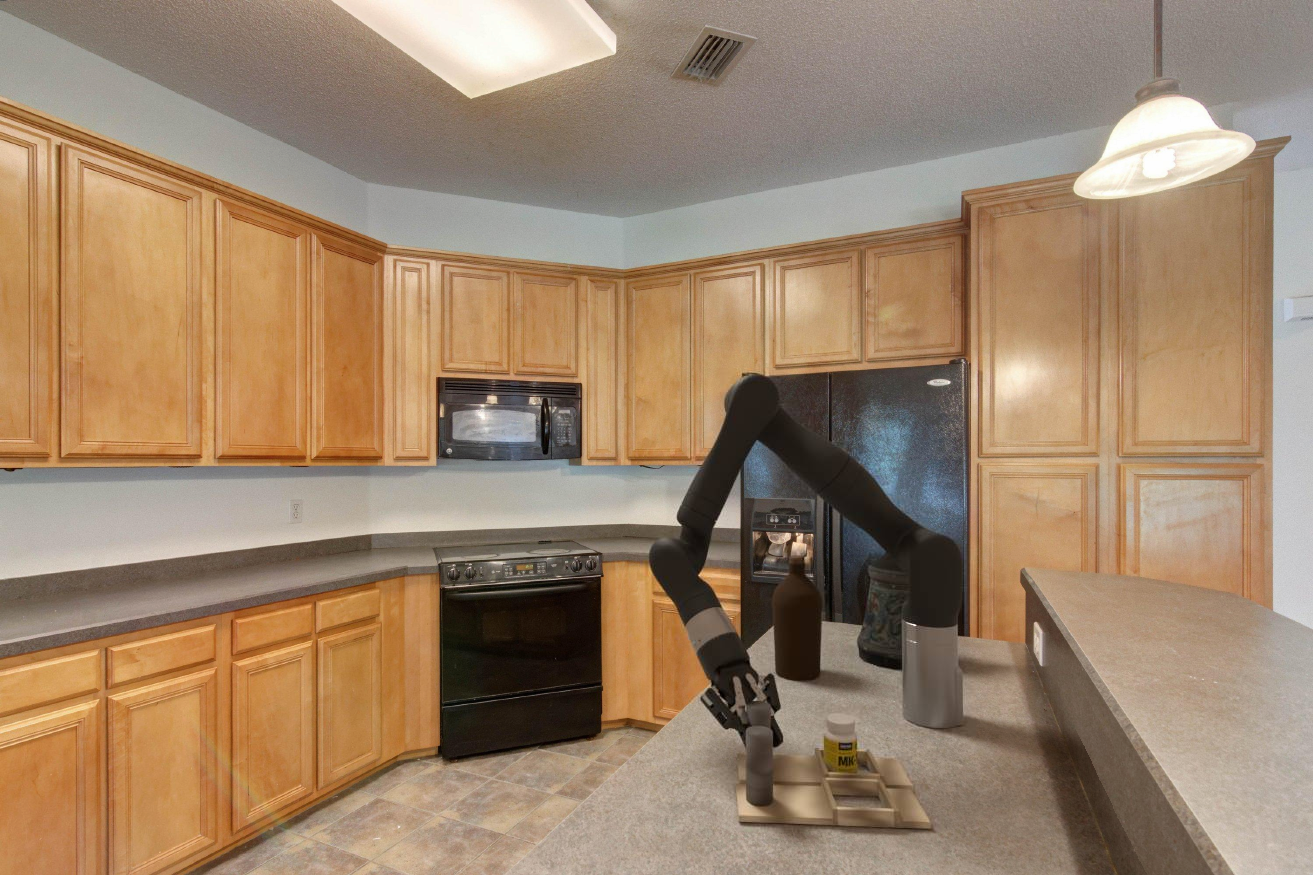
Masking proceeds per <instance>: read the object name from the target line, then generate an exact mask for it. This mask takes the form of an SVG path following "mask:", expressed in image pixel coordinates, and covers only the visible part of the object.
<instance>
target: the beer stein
mask: <svg viewBox="0 0 1313 875" xmlns="http://www.w3.org/2000/svg"><path fill="white" fill-rule="evenodd" d="M867 571H868V575H869V577H870V584H869V589H868V596H867V601H866V609H865V614H864V619H863V623H862V626H861V630H860V631H859V634H858V636H857V639H856V644H857V650H858V657H859V658H860V659H861V661H863V663H867V664H870V665H872V664H873V665H872V666H875V665H876V667H879V668H883V669H889V668H890V670H895V671H902V605H903V603H904V602H905V601H907V599H908V596H909V575H908V574H906V573H905V572H904V571H903V570H902V569H901V568H900V567H899V566H898V565H897V563H896V562H895V561H894V560H893V559H892V558H891V557H890V556H889V555H888V553H887V552H886V551H885V554H883V555H881V556H880V557H878V558H877V559H876V560H874V561H872V562H871V563H870V565H869V566H868V568H867Z"/></svg>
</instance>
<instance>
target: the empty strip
mask: <svg viewBox="0 0 1313 875" xmlns="http://www.w3.org/2000/svg"><path fill="white" fill-rule="evenodd" d="M745 754H746V784H742V783H740V782H739V783H738V782H737V783H736V782H735V788H734V789H735V796H736V807H737V816H738V817H737V818H738V822H743V823H746V822H747V823H770V824H771V823H772V824H792V825H793V824H795V825H796V824H798V825H799V824H800V825H821V826H822V825H823V826H826V825H827V826H848V827H849V826H850V827H851V826H852V827H855V826H856V827H875V828H877V827H879V828H880V827H881V828H900V829H901V828H906V829H907V828H908V829H910V828H911V829H931V828H932V826H931V825H932V822H931V820H930V819H929V817H928V815H927V814H926V812H925V811H924V809H923V808H922V806H921V804H920V802H919V801H918V800H917V797H916V795H914V793H913V791H911V790H910V789H892V788H886V787H885V785H884V783H883V782H882V780H881V779H854V778H823V777H821V786H802V785H773V755H774V748H773V731H772V730H771V729H769V728H767V727H763V726H752V727H749V728H747V729H746V748H745ZM833 795H834V796H837V795H839V796H860V797H861V796H862V797H863V796H868V797H878V799H879V800H880V801H879V802H881V805H882V806H883V807H862V806H861V807H857V806H856V807H853V806H837V804H836V801H835V798H834V796H833Z"/></svg>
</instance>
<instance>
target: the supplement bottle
mask: <svg viewBox="0 0 1313 875" xmlns="http://www.w3.org/2000/svg"><path fill="white" fill-rule="evenodd" d="M825 723H826V724H825V725H826V728H825V729H824V731H823V748H824V762H825V765H826V767H827V770H828V772H842V773H858V764H857V749H858V736H857V733H856V732H855V728H856V727H855V726H856V725H855V718H854V717H852V716H850V715H849V714H845V713H836V712H835V713H830V714H828V715H827V716H826V720H825Z"/></svg>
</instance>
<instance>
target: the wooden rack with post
mask: <svg viewBox="0 0 1313 875" xmlns="http://www.w3.org/2000/svg"><path fill="white" fill-rule="evenodd" d="M745 710H746V714H747V718H748V724H751V725H752V726H763V727H767V728H769V729H771V705H770V704H769V703H767V702H763V701H756V700H753V701H751V702H748V703H747V704H746V707H745ZM736 763H737V773H738V780H739V783H742V784H746V753H736ZM857 765H861V766H863V765H865V766H867V768H868V770H869V772H870V773H869V772H857V773H842V772H828V770H827V767H826V765H825V762H824V747H815V748H814V755H799V754H798V755H795V754H794V755H793V754H773V785H802V786H821V777H823V778H854V779H881V780H882V782H883V783H884V785H885V787H886V788H892V789H910V790H911V791H912V792H914V785H913V783H912V782H911V780H910V779H909V777H908V776H907V774H906V772H905V771H904V769H903V768H902V766H901V764H900V762H899V761H898V760H897V758H896V757H895V758H894V757H893V758H890V757H874V755H873V754H872V752H871V750H870V749H863V748H861V749H860V748H859V749H858V748H857Z"/></svg>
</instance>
